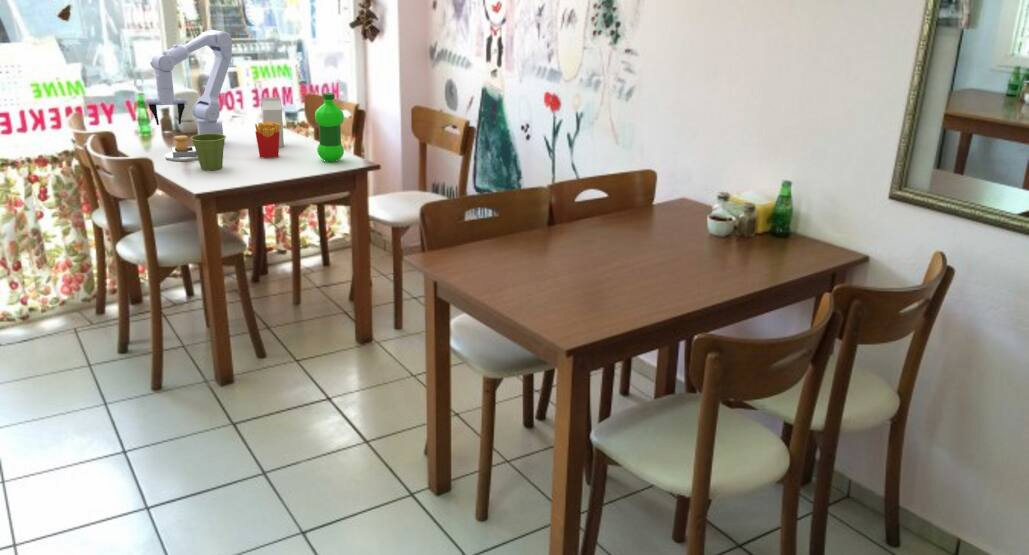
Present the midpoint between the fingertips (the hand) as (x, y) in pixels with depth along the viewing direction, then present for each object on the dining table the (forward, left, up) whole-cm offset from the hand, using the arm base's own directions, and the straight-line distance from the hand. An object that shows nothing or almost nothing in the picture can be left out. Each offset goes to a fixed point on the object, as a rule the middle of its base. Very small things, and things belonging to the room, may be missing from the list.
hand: (168, 124), depth 315 cm
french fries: (-34, +18, -10) cm, 40 cm away
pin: (-3, +13, -9) cm, 16 cm away
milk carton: (-38, 0, -10) cm, 39 cm away
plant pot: (-12, +31, -10) cm, 35 cm away
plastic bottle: (-55, +29, -10) cm, 63 cm away
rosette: (-7, +13, -10) cm, 18 cm away
